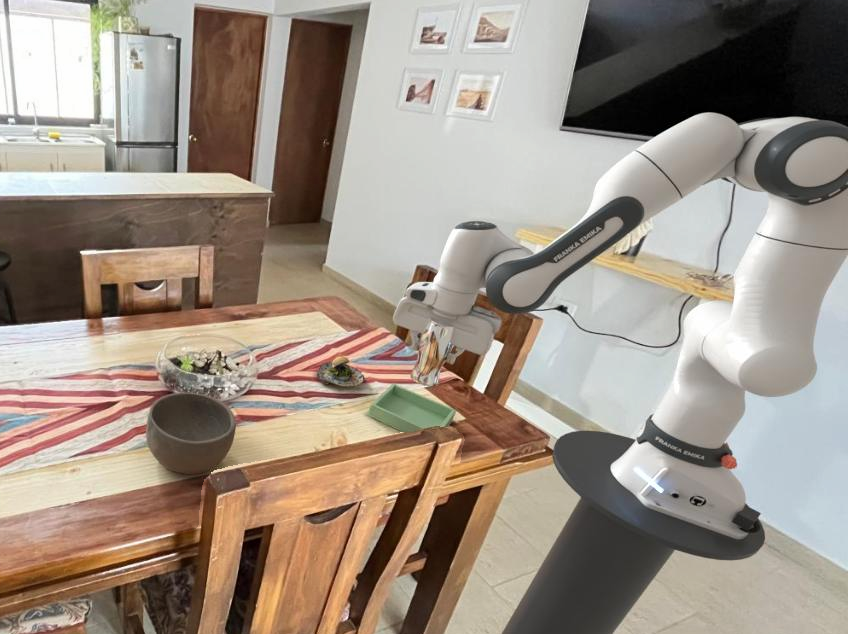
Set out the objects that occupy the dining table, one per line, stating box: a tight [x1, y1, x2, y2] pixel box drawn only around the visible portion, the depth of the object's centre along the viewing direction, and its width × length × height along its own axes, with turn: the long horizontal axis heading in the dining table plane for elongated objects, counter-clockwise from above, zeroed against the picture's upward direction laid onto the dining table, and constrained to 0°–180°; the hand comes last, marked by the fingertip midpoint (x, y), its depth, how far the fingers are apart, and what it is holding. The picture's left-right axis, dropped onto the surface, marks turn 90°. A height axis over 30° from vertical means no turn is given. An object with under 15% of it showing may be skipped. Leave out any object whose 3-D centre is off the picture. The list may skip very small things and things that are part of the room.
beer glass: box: [409, 318, 456, 387], centre depth 113 cm, size 7×7×15 cm
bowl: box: [145, 391, 237, 475], centre depth 100 cm, size 17×18×10 cm
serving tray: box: [367, 382, 457, 434], centre depth 121 cm, size 16×14×3 cm
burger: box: [316, 355, 366, 388], centre depth 133 cm, size 12×12×8 cm
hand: (431, 355), depth 114 cm, fingers closed on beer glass, 6 cm apart
